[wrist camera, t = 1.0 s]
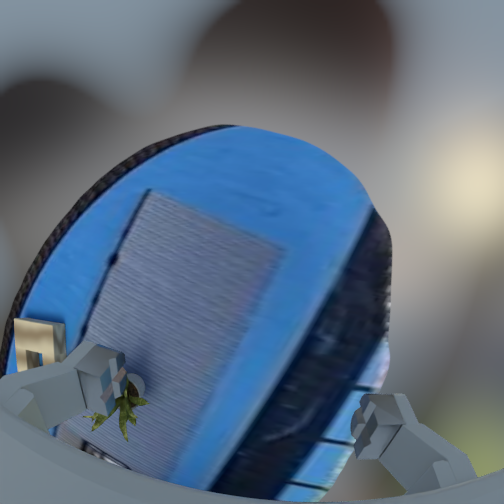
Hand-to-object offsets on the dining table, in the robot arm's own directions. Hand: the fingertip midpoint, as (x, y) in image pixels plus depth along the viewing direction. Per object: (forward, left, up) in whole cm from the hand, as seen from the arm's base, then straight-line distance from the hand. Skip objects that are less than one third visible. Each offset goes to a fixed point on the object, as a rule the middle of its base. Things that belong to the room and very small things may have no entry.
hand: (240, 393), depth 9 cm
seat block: (-14, +44, -48) cm, 67 cm away
